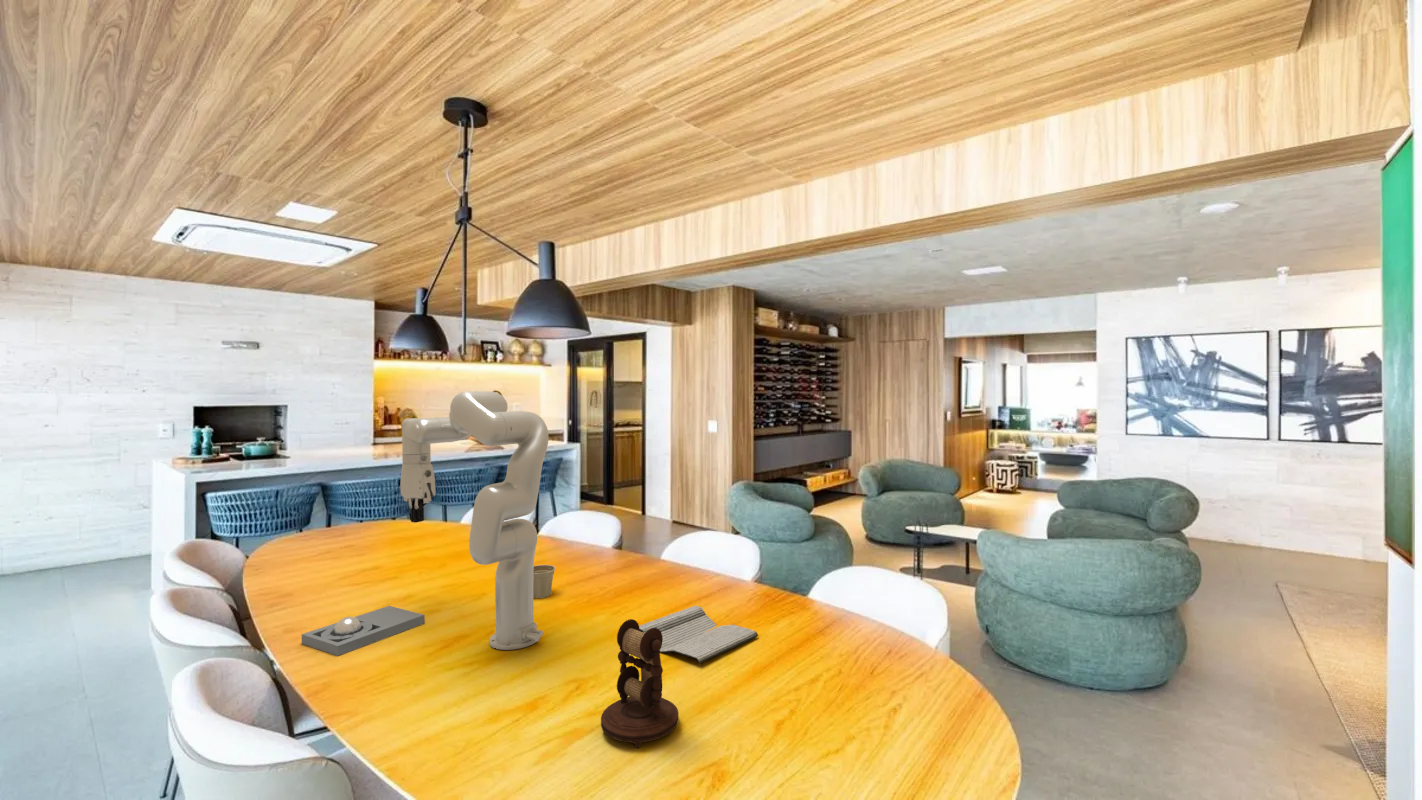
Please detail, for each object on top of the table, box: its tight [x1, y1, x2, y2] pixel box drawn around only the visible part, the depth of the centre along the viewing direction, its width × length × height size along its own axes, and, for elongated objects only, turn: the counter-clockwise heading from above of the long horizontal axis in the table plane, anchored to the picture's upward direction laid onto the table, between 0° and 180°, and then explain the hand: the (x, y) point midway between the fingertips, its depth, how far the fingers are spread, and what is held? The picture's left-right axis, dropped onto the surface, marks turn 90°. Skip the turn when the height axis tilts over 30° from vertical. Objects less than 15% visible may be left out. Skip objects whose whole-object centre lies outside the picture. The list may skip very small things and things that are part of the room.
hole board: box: [301, 605, 425, 657], centre depth 162 cm, size 16×24×2 cm, turn 152°
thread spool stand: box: [600, 618, 679, 749], centre depth 115 cm, size 15×15×20 cm
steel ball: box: [334, 616, 361, 636], centre depth 158 cm, size 6×6×6 cm
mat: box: [639, 605, 759, 667], centre depth 156 cm, size 23×24×5 cm
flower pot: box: [533, 564, 557, 599], centre depth 192 cm, size 9×9×9 cm
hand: (417, 521), depth 177 cm, fingers closed
